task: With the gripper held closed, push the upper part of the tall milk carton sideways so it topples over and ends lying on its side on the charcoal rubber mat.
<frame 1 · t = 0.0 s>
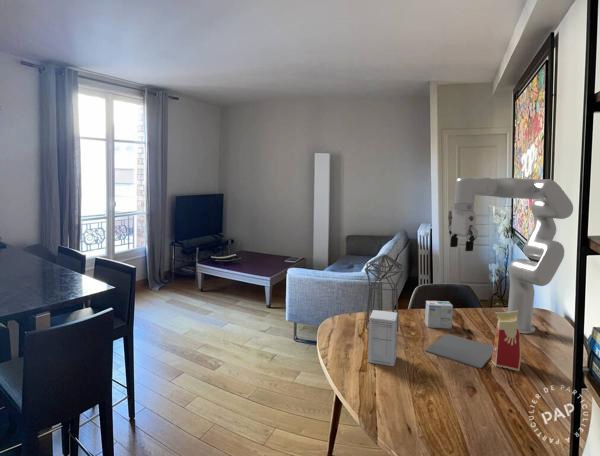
hand: (461, 248, 156), 37 cm above the table, tool pointing down, fingers open, 9 cm apart
supplement box: (382, 359, 137), on the table
geometric lantern: (381, 335, 158), on the table
milk carton: (504, 363, 135), on the table
light bulb box: (437, 326, 170), on the table
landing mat: (462, 350, 145), on the table
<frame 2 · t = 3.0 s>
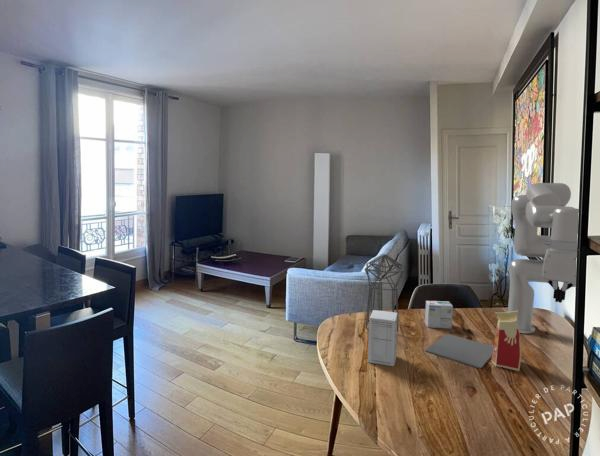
hand: (558, 301, 123), 26 cm above the table, tool pointing down, fingers closed
nothing on the table moved.
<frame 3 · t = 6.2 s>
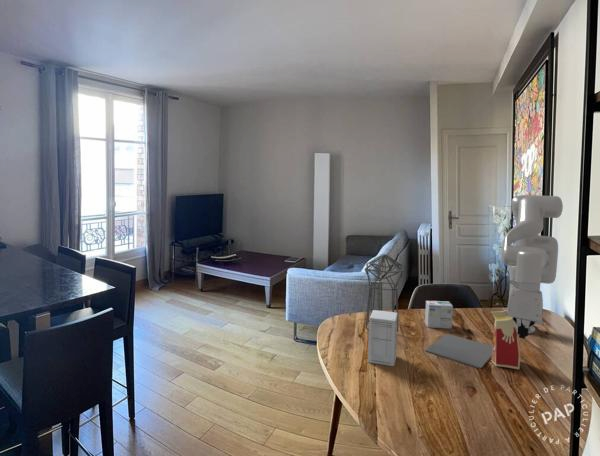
hand: (522, 337, 131), 11 cm above the table, tool pointing down, fingers closed
milk carton: (504, 362, 135), on the table, touching gripper
everything else where it was.
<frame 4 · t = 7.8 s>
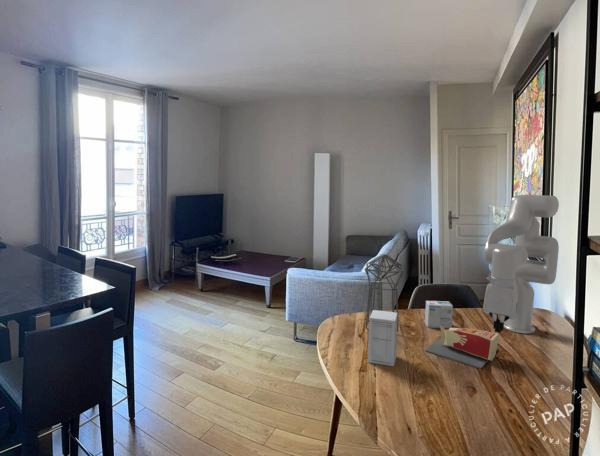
hand: (498, 331, 136), 11 cm above the table, tool pointing down, fingers closed
milk carton: (495, 348, 136), point 5 cm above the table, touching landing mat
everything else where it was.
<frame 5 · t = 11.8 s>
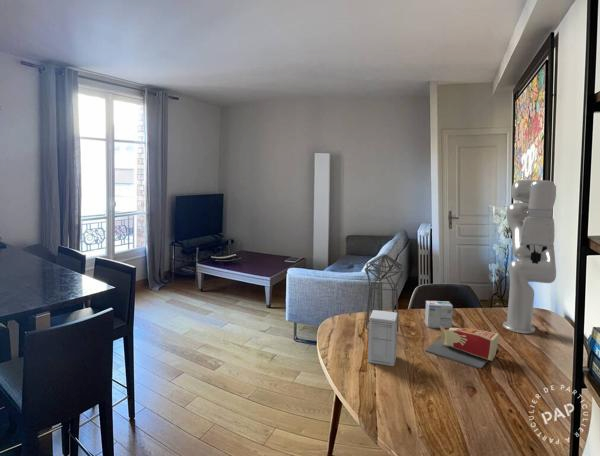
hand: (535, 262, 140), 35 cm above the table, tool pointing down, fingers closed
nothing on the table moved.
at the end: milk carton tilted 88°; milk carton touching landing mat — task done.
